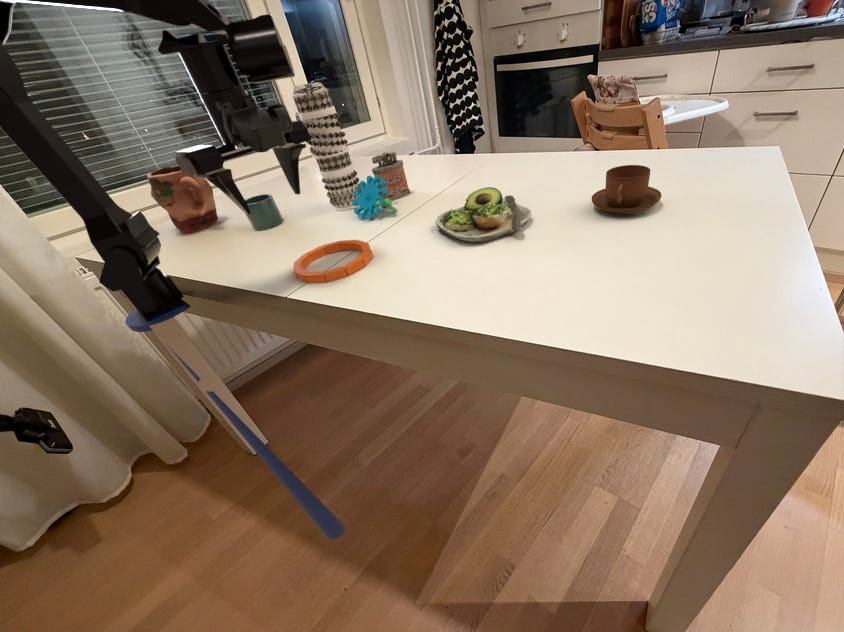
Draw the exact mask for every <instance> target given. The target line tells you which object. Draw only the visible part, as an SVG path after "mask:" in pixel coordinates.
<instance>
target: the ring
mask: <svg viewBox="0 0 844 632" xmlns="http://www.w3.org/2000/svg"><path fill="white" fill-rule="evenodd" d="M350 250H351V251H352V250H353V251H354V250H355V251H358V252H360V254H359V255H358V256H357V258H356V259H353V260H352V261H350V262H348V263H346V264H343V265H341V266H339V267H334V268H331V269H327V270H318V271H310V270H306V268H307V267H308V266H309V265H310V264H311V263H312V262H313V261H315V260H317V259H319V258H322V257H324V256H325V255H328V254H333V253H337V252H339V251H350ZM373 258H374V255H373V252H372V248H371V246H370V243H369V242H366V241H363V240H360V239H345V240H344V239H343V240H337V241H333V242H330V243H326V244H323V245H319V246H317V247H316V248H313V249H310V250H309V251H307V252H305V253H303V254H302V255H301V256H300V257H299V258H297V259H296V260H295V261H293V273H294V276H295V277H296V279H298V280H300V281H302V282H304V283H307V284H314V283H315V284H316V283H327V282H332V281H335V280H340V279H342V278H345V277H348V276H350V275H352V274H355V273H357V272H358V271H360V270H361V269H364V268H365V267H366V266H367V265H368V264H369V263H370V261H371V260H372V259H373Z"/></svg>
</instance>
